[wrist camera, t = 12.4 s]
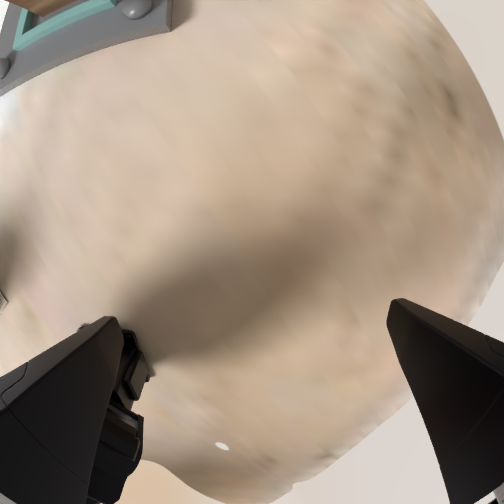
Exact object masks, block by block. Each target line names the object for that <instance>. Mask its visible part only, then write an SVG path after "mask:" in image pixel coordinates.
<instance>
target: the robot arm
mask: <svg viewBox="0 0 504 504" xmlns="http://www.w3.org/2000/svg"><path fill="white" fill-rule="evenodd" d="M387 328H388V331H389V334H390V337H391V340H392V342H393V345H394V348H395V351H396V354H397V357H398V360H399V363H400V365H401V368H402V370H403V372H404V374H405V377H406V379H407V381H408V384H409V386H410V388H411V391H412V393H413V395H414V398H415V400H416V402H417V405H418V408H419V410H420V413H421V415H422V418H423V420H424V423H425V426H426V428H427V431H428V433H429V436H430V439H431V442H432V445H433V447H434V451H435V454H436V457H437V460H438V463H439V465H440V470H441V473H442V476H443V479H444V483H445V486H446V490H447V493H448V497H449V501H450V504H474V503H475V502H477V501H479V500H480V499H482V498H483V497H485V496H486V495H488V494H489V493H491V492H492V491H493V492H494V494H495V496H496V498H495V499H494V500H492V501H491V502H490V503H488V504H504V343H503V342H501V341H499V340H497V339H494V338H492V337H490V336H488V335H484V334H483V333H481V332H479V331H476V330H475V329H472V328H470V327H468V326H466V325H463V324H461V323H459V322H457V321H454V320H452V319H450V318H448V317H445V316H443V315H441V314H439V313H436V312H434V311H432V310H430V309H427V308H425V307H423V306H420V305H418V304H416V303H414V302H411V301H409V300H407V299H404V298H399V299H394V300H392V301H391V303H390V308H389V312H388V317H387ZM128 335H129V336H131V337H129V336H128ZM148 371H149V370H148V367H147V364H146V362H145V359H144V356H143V353H142V352H141V351H140V348H139V346H138V343H137V340H136V337H135V334H134V333H133V332H132V331H130V330H121V329H120V326H119V323H118V321H117V319H116V317H114V316H104V317H102V318H100V319H98V320H97V321H95V322H93V323H92V324H90V325H88V326H86V327H85V328H83V327H80V328H79V329H78V330H77V332H76V333H75V334H73V335H71V336H69V337H68V338H66V339H64V340H63V341H61V342H59V343H58V344H56V345H54V346H53V347H51V348H49V349H48V350H46V351H44V352H43V353H41V354H39V355H38V356H36V357H34V358H33V359H31V360H29V362H26V363H24V364H23V365H21V366H19V367H18V368H16V369H14V370H13V371H11V372H9V373H7V374H5V375H4V376H2V377H0V504H100V503H103V504H114V503H115V502H117V501H118V500H119V499H120V496H121V493H122V490H123V487H124V484H125V481H126V479H127V477H128V476H129V475H130V474H132V473H133V471H134V470H135V469H136V467H137V466H138V464H139V461H140V459H141V455H142V449H143V422H144V417H142V416H141V415H139V414H135V413H134V412H132V411H131V408H132V405H133V402H134V401H138V400H139V398H140V395H141V392H142V389H143V386H144V383H145V382H149V380H150V376H149V373H148Z"/></svg>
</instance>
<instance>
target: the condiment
mask: <svg viewBox="0 0 504 504" xmlns="http://www.w3.org/2000/svg"><path fill="white" fill-rule="evenodd" d="M7 303H8V302H7V301H6V300H5V298H4V297H3V295H2V294H1V292H0V314H1V312H2V311H3V309H4V307H5V306H6V304H7Z"/></svg>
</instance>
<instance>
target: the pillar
mask: <svg viewBox="0 0 504 504" xmlns="http://www.w3.org/2000/svg"><path fill="white" fill-rule="evenodd" d="M5 1H8V2H10V3H13V4H15V5H17V6H20V7H22V8H24V9H27V10H29V11H31V12H33V13H35V14H37V15H39V16H42V17H45V16H46V15H48V14H50V13H52V12H54V11H56V10H58V9H60V8H62V7H65V6H67V5H69V4H71V3H73V2H76V1H78V0H5Z"/></svg>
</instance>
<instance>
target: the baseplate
mask: <svg viewBox="0 0 504 504" xmlns="http://www.w3.org/2000/svg"><path fill="white" fill-rule="evenodd" d="M171 14H172V0H78V1H76V2H73V3H71V4H69V5H67V6H65V7H62V8H60V9H58V10H56V11H54V12H52V13H50V14H48V15H46V16H45V17H42V16H39V15H37V14H35V13H33V12H31V11H29V10H27V9H24V8H22V7H20V6H17V5H15V4H13V3H9V6H8V9H7V12H6V15H5V19H4V22H3V26H2V29H1V33H0V96H2V95H4V94H5V93H7V92H9V91H10V90H12V89H14V88H15V87H17V86H19V85H21V84H22V83H24V82H26V81H28V80H30V79H32V78H34V77H36V76H38V75H40V74H42V73H44V72H46V71H48V70H50V69H52V68H54V67H56V66H59V65H61V64H63V63H66V62H68V61H70V60H73V59H75V58H78V57H81V56H83V55H86V54H89V53H91V52H94V51H97V50H100V49H103V48H106V47H109V46H113V45H116V44H119V43H123V42H127V41H130V40H134V39H138V38H142V37H147V36H151V35H156V34H161V33H166V32H171Z"/></svg>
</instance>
